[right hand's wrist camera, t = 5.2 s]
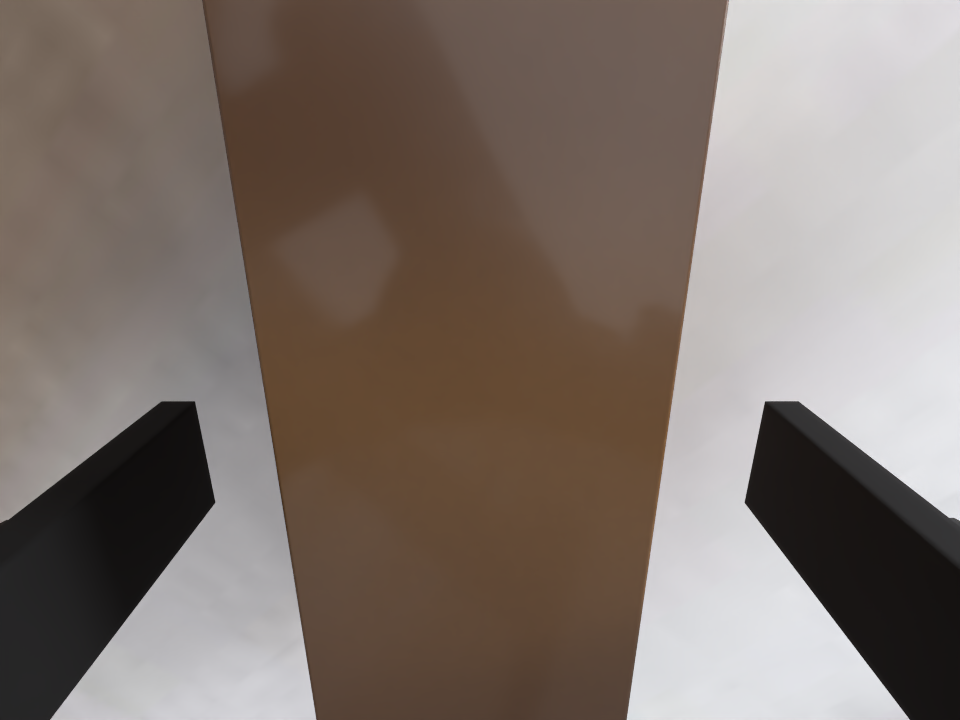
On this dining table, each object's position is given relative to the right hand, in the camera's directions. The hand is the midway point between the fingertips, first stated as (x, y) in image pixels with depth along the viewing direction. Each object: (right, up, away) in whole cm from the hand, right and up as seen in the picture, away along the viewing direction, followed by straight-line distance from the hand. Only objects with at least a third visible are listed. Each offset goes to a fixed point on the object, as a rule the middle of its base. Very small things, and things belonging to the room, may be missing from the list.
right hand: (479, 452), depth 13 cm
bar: (0, +27, -6) cm, 27 cm away
